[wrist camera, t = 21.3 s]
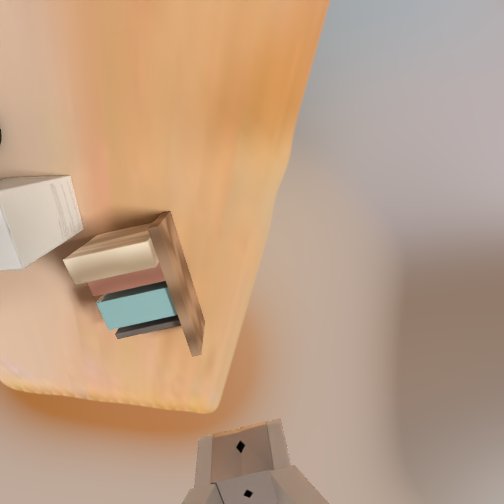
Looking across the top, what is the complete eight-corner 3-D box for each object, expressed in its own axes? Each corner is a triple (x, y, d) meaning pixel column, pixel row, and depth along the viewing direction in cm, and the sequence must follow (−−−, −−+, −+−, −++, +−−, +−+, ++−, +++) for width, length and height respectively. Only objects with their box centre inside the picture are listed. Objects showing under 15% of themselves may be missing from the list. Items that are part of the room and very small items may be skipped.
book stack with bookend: (95, 227, 38) (58, 251, 30) (170, 211, 38) (155, 230, 30) (140, 336, 45) (121, 380, 36) (204, 321, 45) (200, 362, 36)
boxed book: (115, 277, 41) (95, 303, 34) (178, 263, 41) (169, 286, 34) (126, 301, 42) (108, 330, 36) (186, 288, 42) (179, 314, 36)
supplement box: (8, 176, 35) (-101, 193, 23) (72, 174, 35) (-3, 190, 24) (26, 234, 38) (-64, 275, 26) (85, 231, 38) (23, 271, 26)
